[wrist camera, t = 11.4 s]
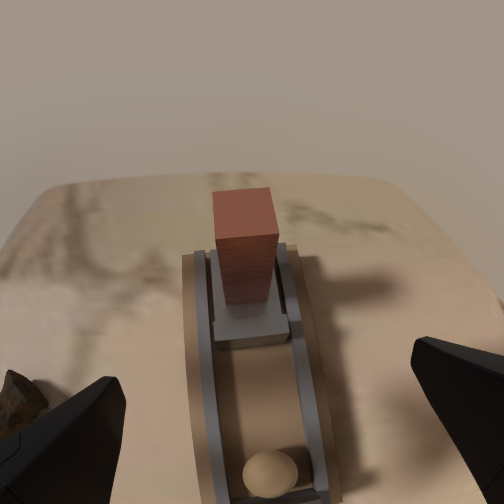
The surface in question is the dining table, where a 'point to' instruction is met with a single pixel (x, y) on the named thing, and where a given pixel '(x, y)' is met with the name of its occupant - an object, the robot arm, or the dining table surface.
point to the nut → (270, 474)
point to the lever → (246, 271)
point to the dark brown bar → (18, 403)
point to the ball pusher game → (257, 394)
